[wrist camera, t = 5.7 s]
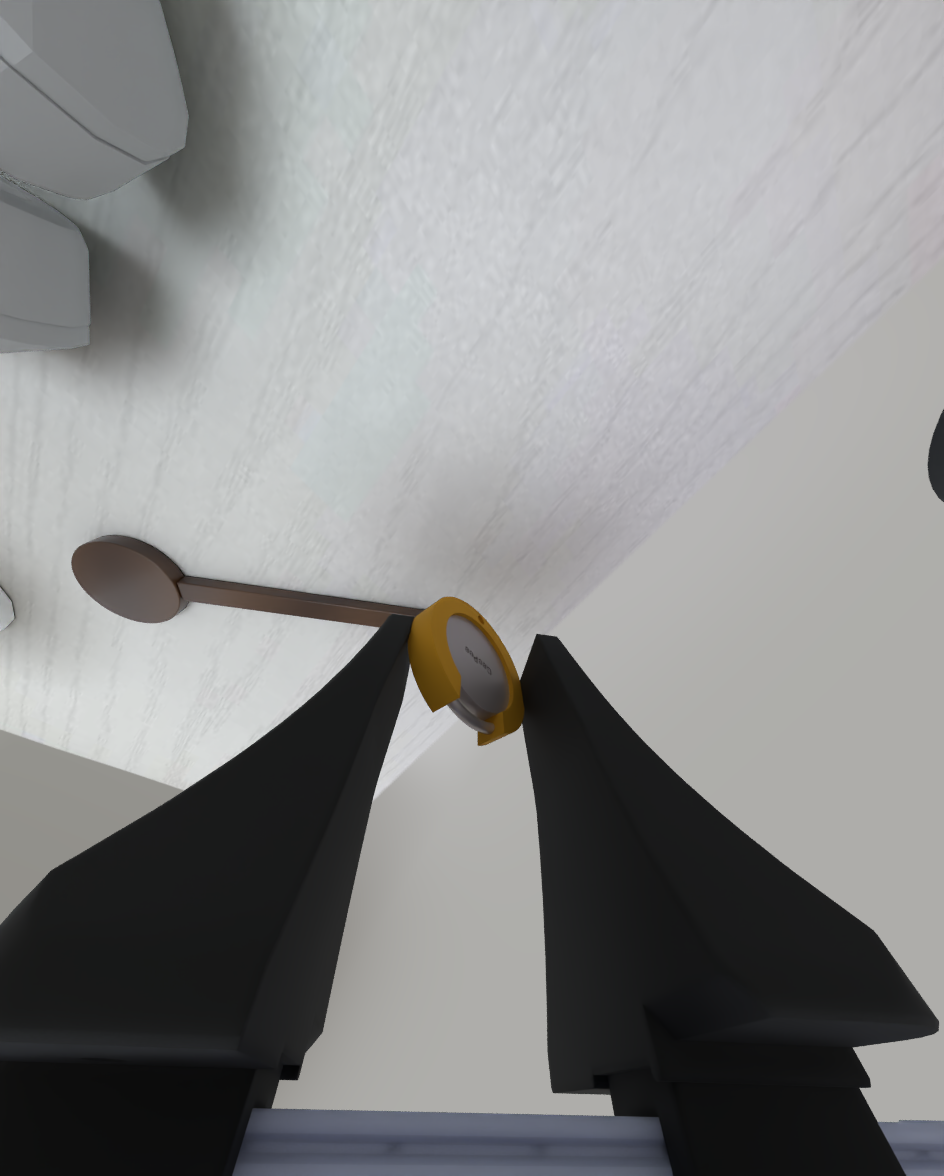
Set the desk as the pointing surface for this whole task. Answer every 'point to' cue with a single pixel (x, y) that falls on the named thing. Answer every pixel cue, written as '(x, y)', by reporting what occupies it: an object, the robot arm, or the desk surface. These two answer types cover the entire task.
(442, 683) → the tracker
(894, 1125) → the robot arm
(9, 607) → the foam cup
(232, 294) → the desk surface
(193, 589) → the spoon
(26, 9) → the headphones
